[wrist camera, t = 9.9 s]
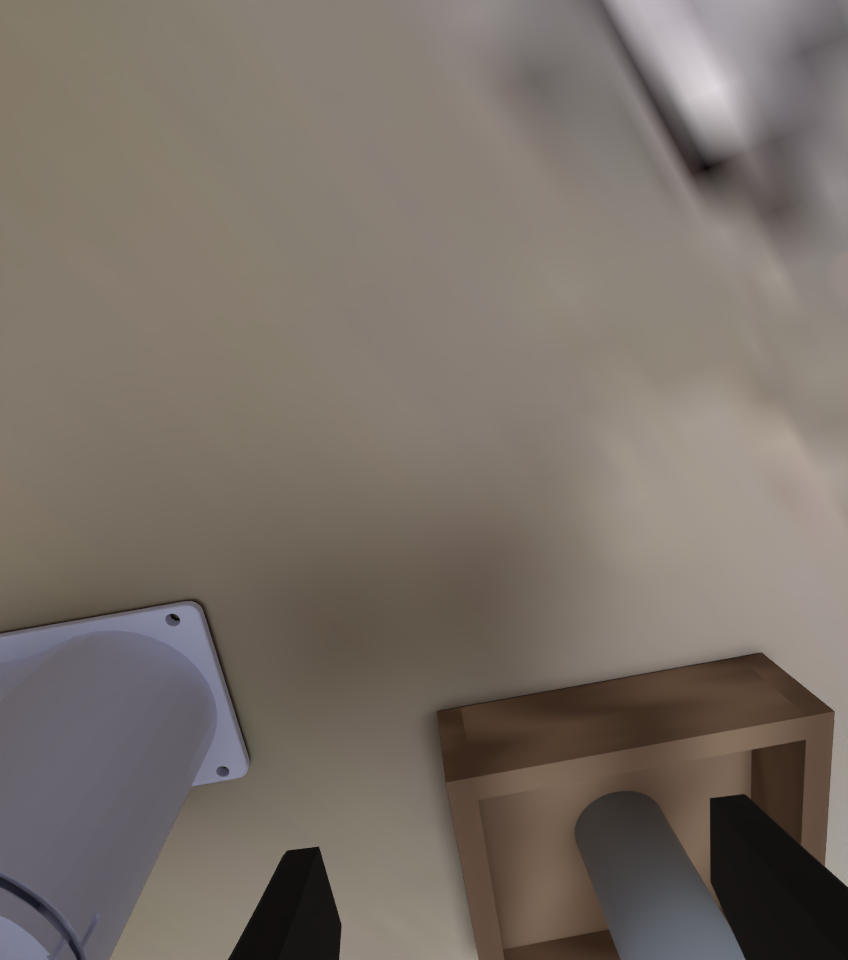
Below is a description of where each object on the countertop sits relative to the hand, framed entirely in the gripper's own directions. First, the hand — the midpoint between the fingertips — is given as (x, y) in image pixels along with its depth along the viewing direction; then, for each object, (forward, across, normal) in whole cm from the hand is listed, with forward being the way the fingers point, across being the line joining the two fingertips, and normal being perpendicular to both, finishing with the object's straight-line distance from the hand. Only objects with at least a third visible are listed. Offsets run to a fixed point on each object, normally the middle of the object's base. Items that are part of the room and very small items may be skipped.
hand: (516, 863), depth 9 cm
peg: (+10, -5, +12) cm, 17 cm away
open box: (+11, -5, +12) cm, 17 cm away
